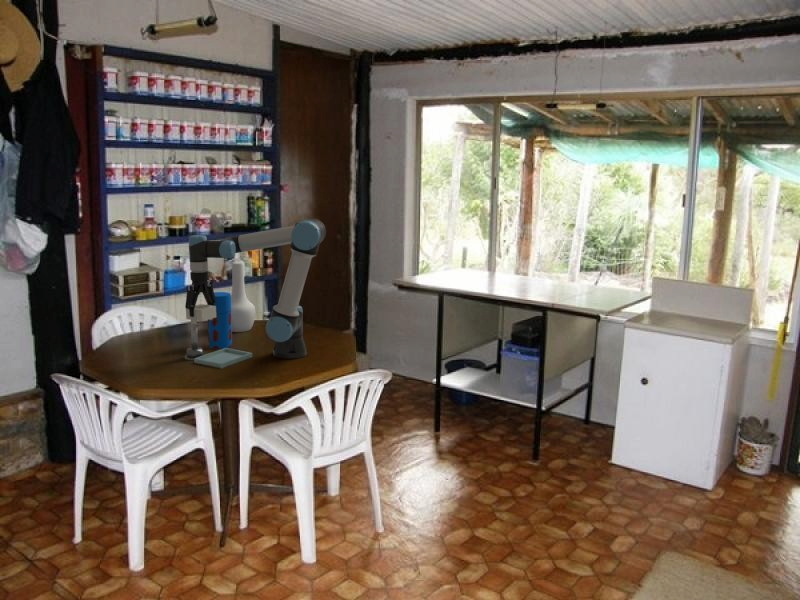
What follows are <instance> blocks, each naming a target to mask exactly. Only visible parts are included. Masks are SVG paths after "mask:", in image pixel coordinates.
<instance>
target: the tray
mask: <svg viewBox="0 0 800 600" xmlns="http://www.w3.org/2000/svg"><path fill="white" fill-rule="evenodd" d="M251 358H253V353H252V352H249V351H243V350H238V349H234V348H230V347H229V348H224V349H218V350H216V351H212V352H209V353H206V354H204V355H203V356H200V357H197V358H194V361H193V362H194V364H198V365H201V366H206V367H207V366H208V367H212V368H216V369H224V368H227V367H230V366H233V365H235V364H237V363H240V362H241V363H242V362H243V361H246V360H248V359H249V360H250V359H251Z"/></svg>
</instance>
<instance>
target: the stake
mask: <svg viewBox="0 0 800 600" xmlns="http://www.w3.org/2000/svg"><path fill="white" fill-rule="evenodd" d="M198 332H199V331H198V323H197V324H190V339H191V341H190V342H191V347H188V348H186V355H184V360H186V361H193V362H194V358H197V357H200V356H203V355H205V354H204V348H203V347H201V346H199V339H198V338H199V337H198V336H199V335H198V334H199V333H198Z"/></svg>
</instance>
